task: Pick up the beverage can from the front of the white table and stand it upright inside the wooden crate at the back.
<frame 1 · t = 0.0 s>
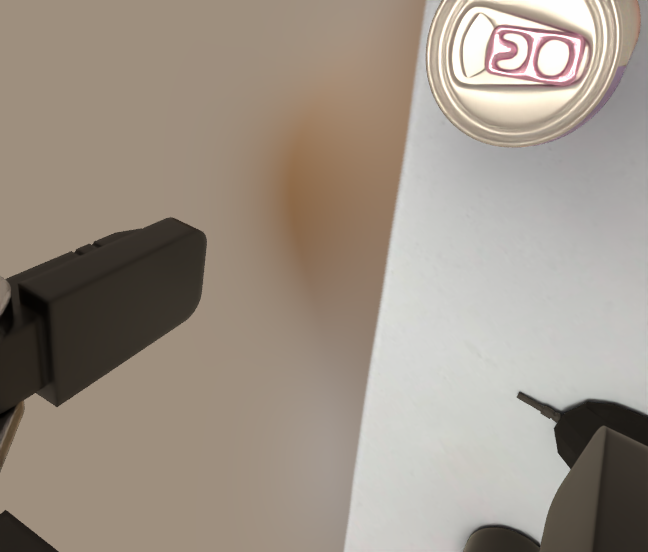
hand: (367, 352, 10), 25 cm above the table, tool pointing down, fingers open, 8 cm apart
beverage can: (574, 33, 28), on the table
gaming mouse: (629, 446, 36), on the table
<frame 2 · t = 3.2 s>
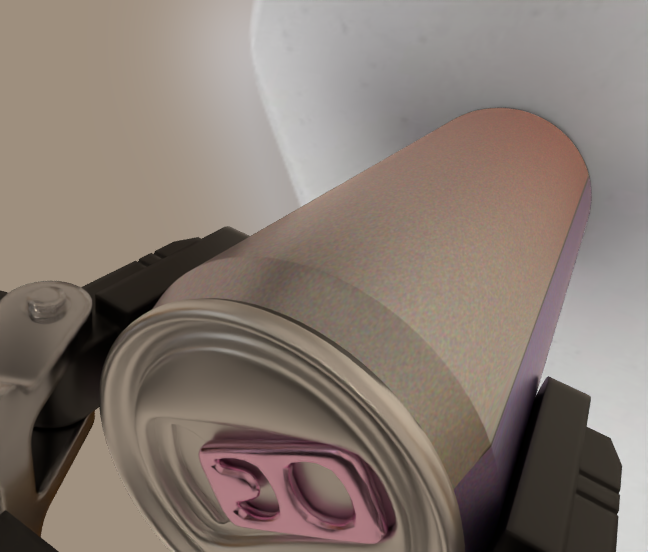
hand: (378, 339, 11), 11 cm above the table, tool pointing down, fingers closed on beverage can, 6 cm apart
beverage can: (499, 192, 19), on the table, touching gripper
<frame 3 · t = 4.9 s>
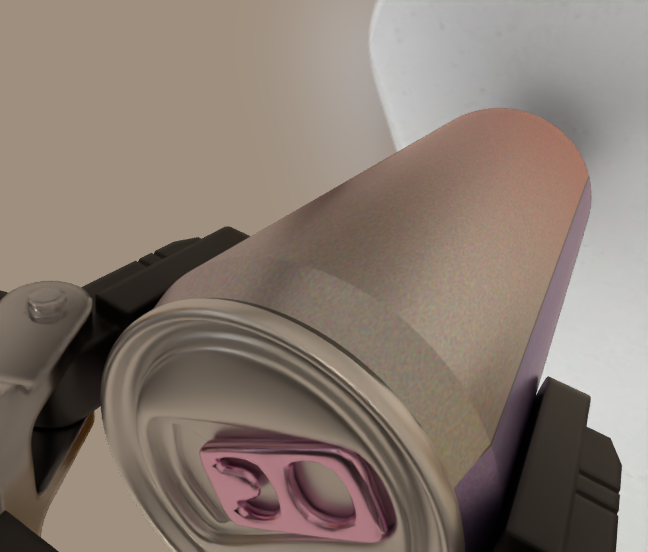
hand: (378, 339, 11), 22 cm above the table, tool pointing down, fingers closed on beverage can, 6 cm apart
beverage can: (499, 192, 19), point 11 cm above the table, touching gripper
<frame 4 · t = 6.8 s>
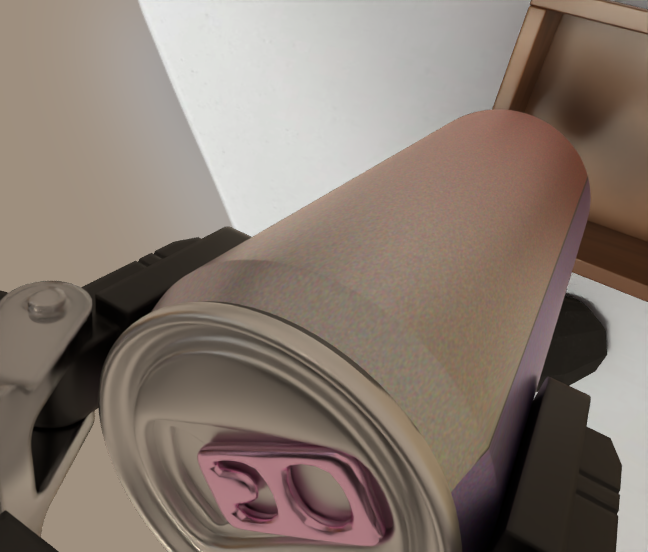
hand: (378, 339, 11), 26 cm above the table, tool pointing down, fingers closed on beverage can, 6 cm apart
beverage can: (498, 193, 19), point 15 cm above the table, touching gripper
gaming mouse: (488, 330, 39), on the table
wooden crate: (619, 131, 30), on the table
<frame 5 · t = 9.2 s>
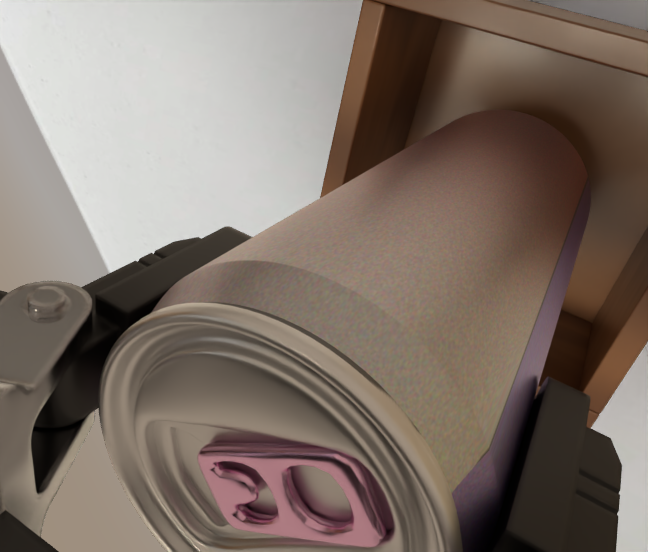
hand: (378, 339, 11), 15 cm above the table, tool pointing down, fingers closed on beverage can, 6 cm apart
beverage can: (499, 193, 19), point 4 cm above the table, touching gripper
wooden crate: (525, 167, 23), on the table
when the fingers open (11 cm above the table, at t = 10.8 s): beverage can stays where it is, resting on wooden crate.
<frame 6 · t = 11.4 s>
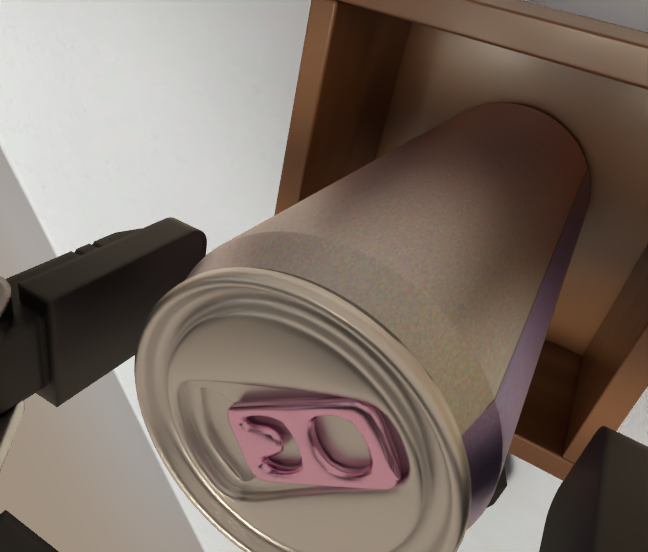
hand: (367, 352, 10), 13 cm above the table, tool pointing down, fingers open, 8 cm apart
beverage can: (501, 184, 20), resting on wooden crate
wooden crate: (507, 183, 20), on the table
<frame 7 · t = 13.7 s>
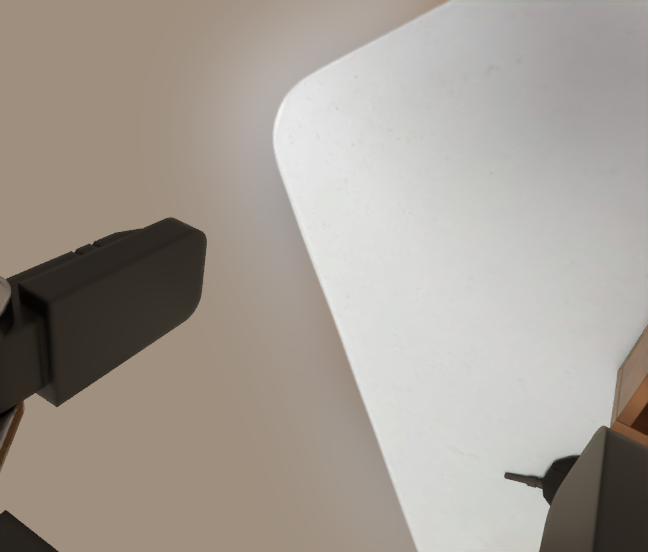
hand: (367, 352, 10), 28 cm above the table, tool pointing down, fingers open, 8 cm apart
gaming mouse: (610, 489, 40), on the table
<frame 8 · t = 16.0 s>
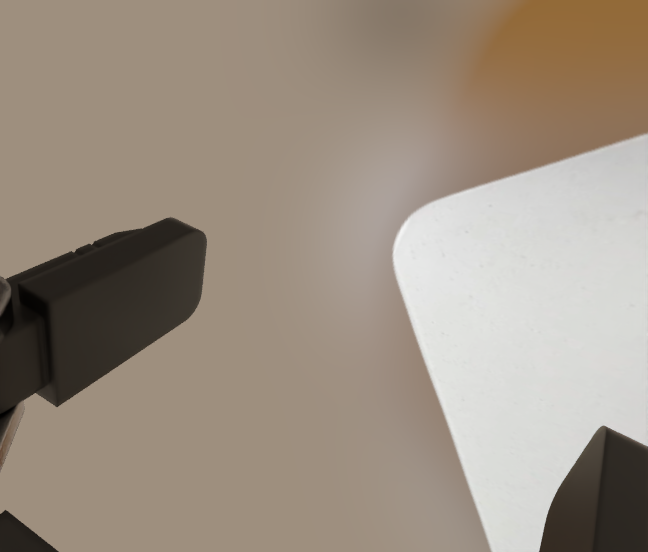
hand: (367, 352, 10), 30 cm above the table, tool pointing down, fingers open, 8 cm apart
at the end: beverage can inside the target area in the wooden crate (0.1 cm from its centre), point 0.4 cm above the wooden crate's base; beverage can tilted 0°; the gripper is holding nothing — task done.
